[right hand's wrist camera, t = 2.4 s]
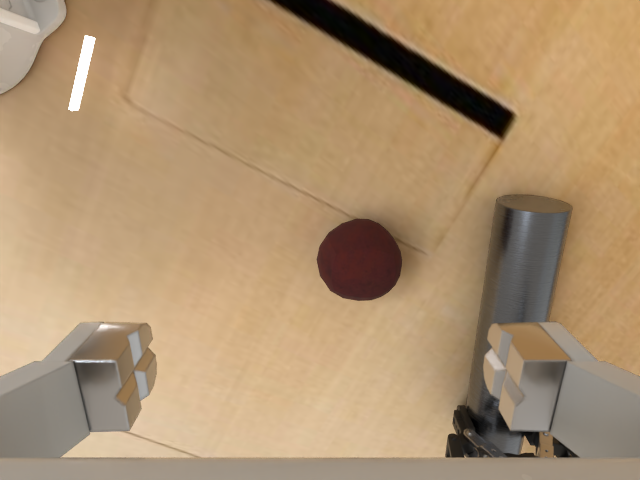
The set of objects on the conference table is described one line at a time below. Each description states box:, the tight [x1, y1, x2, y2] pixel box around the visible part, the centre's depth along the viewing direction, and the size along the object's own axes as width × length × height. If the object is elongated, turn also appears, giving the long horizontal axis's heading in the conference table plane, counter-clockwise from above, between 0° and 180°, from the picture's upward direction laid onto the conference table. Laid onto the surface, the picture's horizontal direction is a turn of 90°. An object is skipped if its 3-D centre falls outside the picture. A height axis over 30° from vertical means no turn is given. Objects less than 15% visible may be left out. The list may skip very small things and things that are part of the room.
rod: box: [466, 195, 572, 455], centre depth 43 cm, size 27×6×6 cm, turn 0°
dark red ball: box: [317, 219, 402, 301], centre depth 40 cm, size 7×8×7 cm
